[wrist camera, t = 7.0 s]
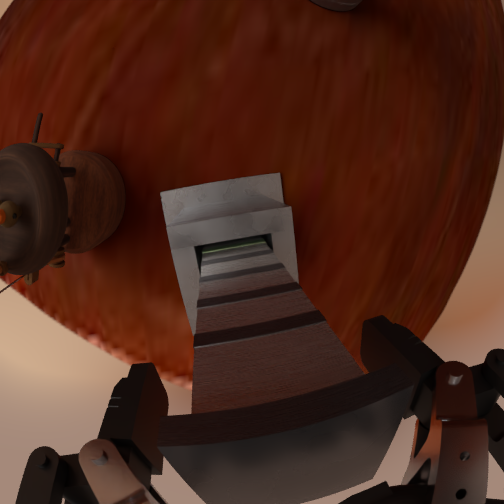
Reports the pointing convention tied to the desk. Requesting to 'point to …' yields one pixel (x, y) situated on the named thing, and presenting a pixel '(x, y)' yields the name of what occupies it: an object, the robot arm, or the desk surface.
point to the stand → (225, 225)
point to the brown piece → (54, 205)
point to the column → (275, 391)
